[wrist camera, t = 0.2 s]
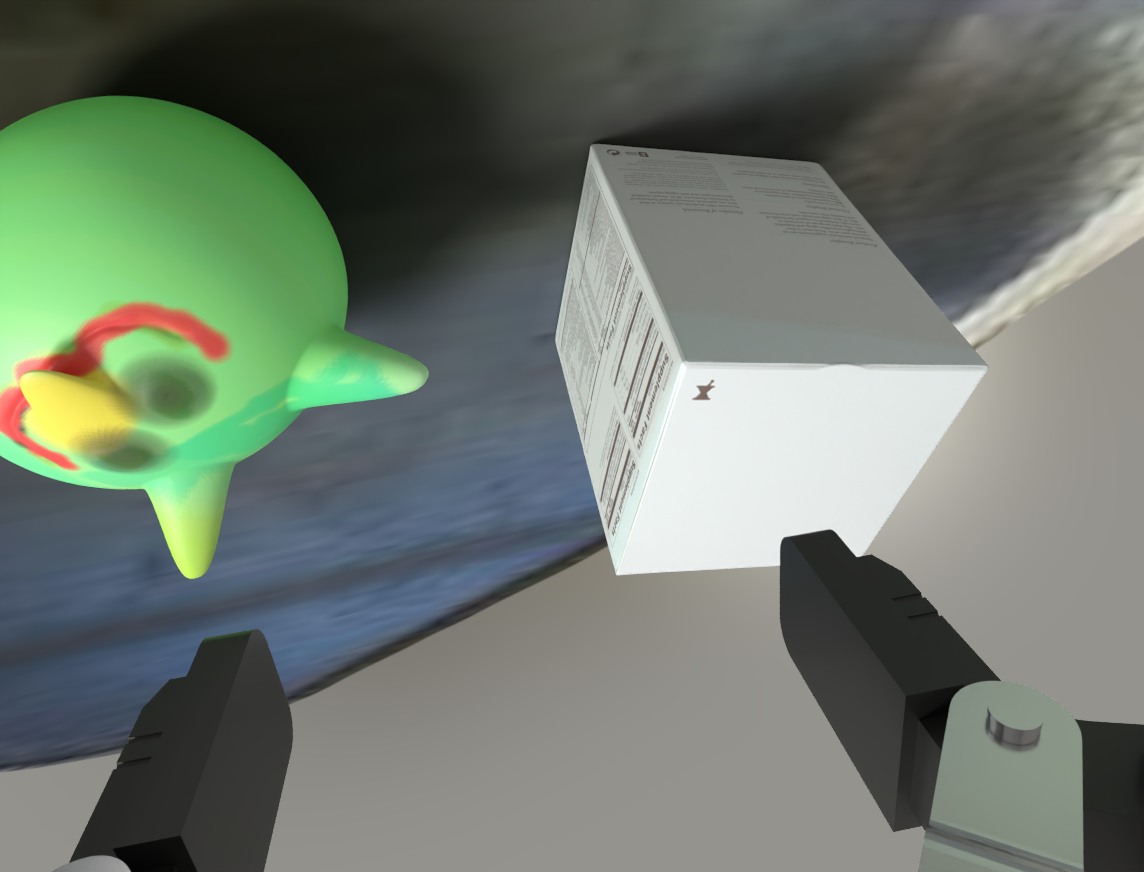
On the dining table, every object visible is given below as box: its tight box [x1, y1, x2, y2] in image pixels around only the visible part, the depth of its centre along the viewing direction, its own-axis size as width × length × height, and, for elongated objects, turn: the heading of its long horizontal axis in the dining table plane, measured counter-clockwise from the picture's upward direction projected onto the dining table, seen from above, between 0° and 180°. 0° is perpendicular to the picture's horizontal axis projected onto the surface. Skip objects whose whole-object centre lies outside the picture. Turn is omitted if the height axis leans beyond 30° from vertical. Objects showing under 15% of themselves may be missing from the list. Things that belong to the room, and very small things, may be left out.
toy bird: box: [0, 96, 429, 579], centre depth 35 cm, size 18×17×15 cm
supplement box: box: [555, 144, 989, 575], centre depth 40 cm, size 13×13×18 cm
